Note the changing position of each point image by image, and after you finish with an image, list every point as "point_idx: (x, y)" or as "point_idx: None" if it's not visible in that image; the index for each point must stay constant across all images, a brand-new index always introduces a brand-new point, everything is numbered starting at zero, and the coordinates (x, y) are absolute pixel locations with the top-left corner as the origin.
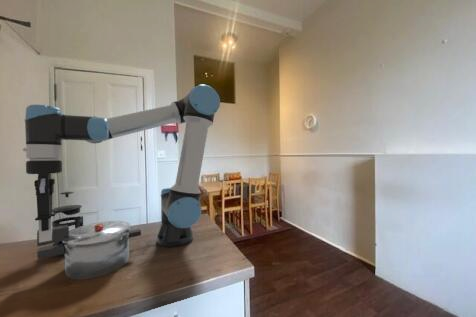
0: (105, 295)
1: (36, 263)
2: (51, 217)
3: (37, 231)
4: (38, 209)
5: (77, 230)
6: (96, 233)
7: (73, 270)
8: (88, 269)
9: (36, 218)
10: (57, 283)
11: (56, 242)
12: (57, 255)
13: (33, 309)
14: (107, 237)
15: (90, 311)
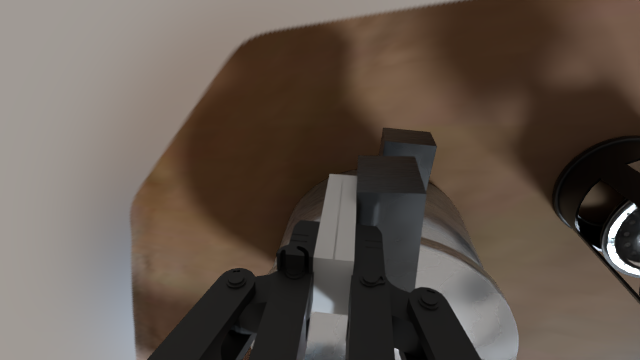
0: (182, 227)
1: (580, 86)
2: (333, 312)
3: (386, 193)
4: (169, 343)
5: (450, 298)
6: (331, 335)
7: (314, 198)
8: (286, 229)
9: (288, 260)
10: (323, 148)
11: (629, 180)
12: (582, 155)
13: (213, 99)
14: (251, 347)
15: (137, 196)
